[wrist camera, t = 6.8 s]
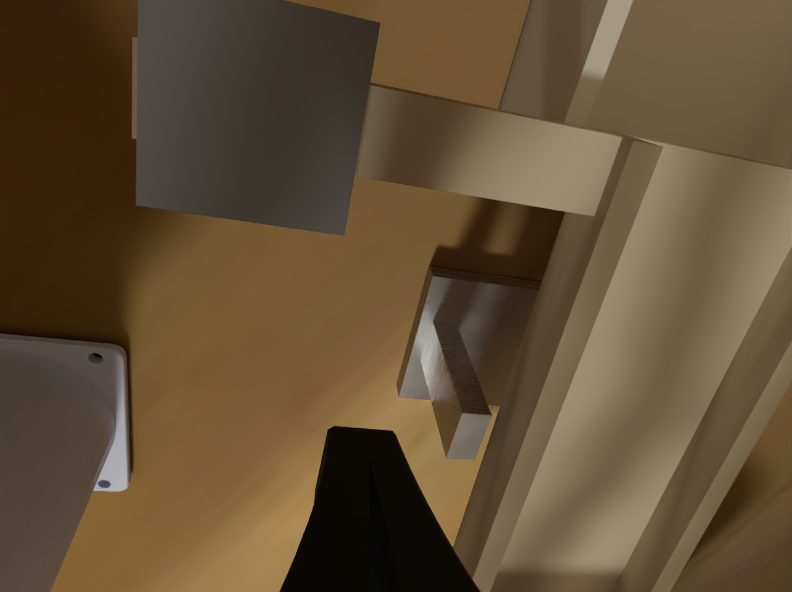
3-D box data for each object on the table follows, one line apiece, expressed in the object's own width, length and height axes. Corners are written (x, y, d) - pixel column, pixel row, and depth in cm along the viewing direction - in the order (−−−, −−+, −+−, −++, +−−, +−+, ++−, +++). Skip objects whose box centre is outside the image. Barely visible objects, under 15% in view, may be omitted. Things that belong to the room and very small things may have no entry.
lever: (144, 614, 21) (115, 714, 18) (158, -24, 12) (108, -42, 9) (595, 612, 25) (636, 694, 22) (840, 133, 16) (964, 156, 13)
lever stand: (396, 385, 24) (417, 497, 19) (428, 266, 21) (464, 361, 16) (635, 406, 27) (710, 510, 22) (693, 302, 24) (796, 394, 19)
